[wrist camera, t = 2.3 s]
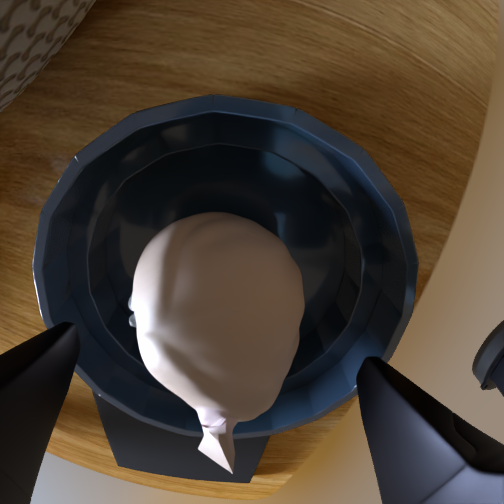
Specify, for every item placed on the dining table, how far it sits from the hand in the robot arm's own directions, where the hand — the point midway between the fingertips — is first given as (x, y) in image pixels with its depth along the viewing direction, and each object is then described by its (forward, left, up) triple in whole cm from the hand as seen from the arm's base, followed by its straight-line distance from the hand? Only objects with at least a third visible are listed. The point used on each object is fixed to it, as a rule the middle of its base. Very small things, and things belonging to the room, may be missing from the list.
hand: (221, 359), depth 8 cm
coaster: (+2, +15, -6) cm, 16 cm away
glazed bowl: (0, 0, -6) cm, 6 cm away
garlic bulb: (0, 0, -6) cm, 6 cm away
